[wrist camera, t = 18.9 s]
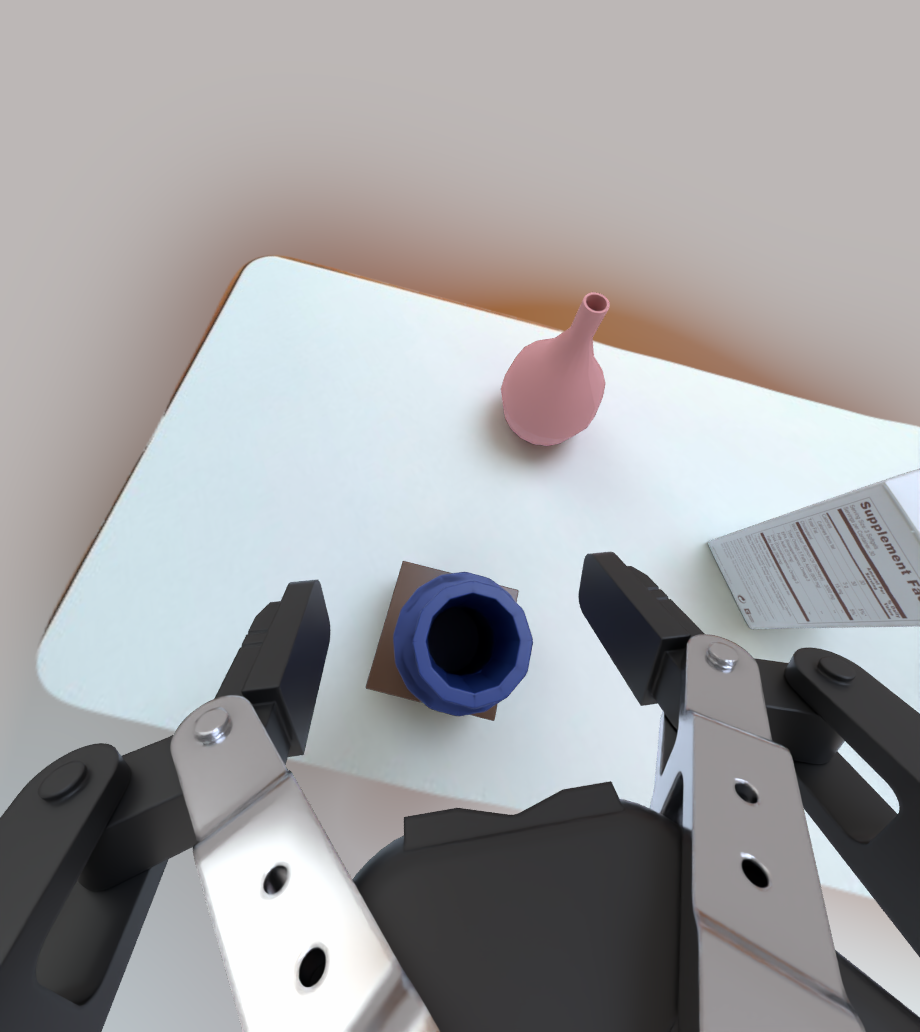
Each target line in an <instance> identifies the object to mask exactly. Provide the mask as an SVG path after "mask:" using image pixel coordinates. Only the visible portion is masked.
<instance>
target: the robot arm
mask: <svg viewBox="0 0 920 1032" xmlns="http://www.w3.org/2000/svg"><path fill="white" fill-rule="evenodd" d="M579 604H580V608H581V610H582V613H583V614H584V616H585V618H586V619H587V621H588V622H589V624H590V626H591V627H592V629H593V630H594V632H595V634H596V635H597V637H598V638H599V640H600V642H601V643H602V645H603V646H604V648H605V649H606V651H607V653H608V654H609V656H610V657H611V659H612V661H613V662H614V664H615V665H616V667H617V669H618V670H619V672H620V673H621V675H622V677H623V678H624V680H625V681H626V683H627V685H628V686H629V688H630V689H631V691H632V692H633V694H634V696H635V697H636V699H637V700H638V702H639V704H640V705H641V706H643V705H650V704H657V703H658V704H659V706H660V707H661V709H662V710H663V712H662V715H661V718H660V728H659V739H658V751H657V763H656V774H655V785H654V791H653V796H652V800H651V804H650V808H647V807H645V806H642V805H640V804H637V803H634V802H630V801H627V800H622V799H619V797H618V795H617V793H616V791H615V789H614V786H613V784H612V782H611V781H610V782H605V783H599V784H593V785H587V786H581V787H576V788H570V789H564V790H561V791H559V792H558V793H556V794H554V795H552V796H550V797H548V798H546V799H545V800H543V801H541V802H539V803H537V804H535V805H533V806H532V807H530V808H528V809H526V810H524V811H522V812H521V813H518V814H515V815H507V814H499V813H492V812H484V811H476V810H469V809H462V808H454V809H448V810H443V811H437V812H431V813H425V814H419V815H413V816H408V817H404V836H402V837H400V838H398V839H396V840H394V841H393V842H391V843H390V844H388V845H387V846H386V847H384V848H383V849H381V850H380V851H379V852H378V853H377V854H376V855H375V856H373V857H372V858H371V859H370V860H369V861H368V862H367V863H366V864H365V865H364V866H363V868H362V869H361V870H360V871H359V872H358V873H357V874H356V876H355V877H354V878H353V880H352V878H351V877H350V875H349V873H348V871H347V870H346V868H345V866H344V864H343V863H342V861H341V859H340V857H339V855H338V853H337V852H336V850H335V848H334V847H333V845H332V843H331V841H330V839H329V838H328V836H327V834H326V832H325V830H324V829H323V827H322V825H321V823H320V821H319V820H318V818H317V816H316V814H315V813H314V811H313V809H312V808H311V806H310V804H309V802H308V800H307V798H306V797H305V795H304V793H303V791H302V789H301V788H300V786H299V784H298V782H297V781H296V779H295V777H294V775H293V774H292V772H291V771H288V769H287V768H286V766H285V765H286V761H287V757H292V756H298V755H304V751H305V746H306V742H307V738H308V733H309V729H310V725H311V720H312V716H313V712H314V707H315V703H316V699H317V694H318V690H319V685H320V681H321V677H322V672H323V668H324V664H325V659H326V655H327V651H328V646H329V642H330V621H329V617H328V613H327V609H326V604H325V600H324V596H323V592H322V588H321V584H320V582H319V581H318V580H310V581H299V582H290V583H289V584H288V586H287V588H286V590H285V593H284V595H283V597H282V600H281V601H279V602H270V603H269V604H268V605H267V606H266V607H265V608H264V609H263V610H262V611H261V612H260V613H259V614H258V615H257V616H256V617H255V619H254V621H253V623H252V625H251V627H250V629H249V631H248V635H246V637H245V639H244V641H243V643H242V648H240V649H239V651H238V653H237V655H236V657H235V659H234V661H233V663H232V665H231V667H230V669H229V671H228V673H227V675H226V677H225V679H224V681H223V683H222V685H221V687H220V689H219V691H218V693H217V695H216V697H215V698H214V700H211V701H209V702H207V703H205V704H203V705H202V706H200V707H199V708H197V709H196V710H195V711H193V712H192V713H191V714H190V715H189V716H188V717H186V718H185V719H184V721H183V722H182V723H181V724H180V725H179V727H178V728H177V730H176V731H175V733H174V735H172V736H170V737H168V738H166V739H163V740H161V741H159V742H156V743H153V744H150V745H148V746H145V747H143V748H141V749H138V750H136V751H133V752H130V753H128V754H125V755H123V756H121V755H120V754H119V753H118V751H117V750H116V748H115V747H113V746H112V745H109V744H102V743H100V744H93V745H89V746H85V747H82V748H79V749H77V750H74V751H72V752H70V753H68V754H66V755H64V756H63V757H61V758H59V759H58V760H56V761H54V762H53V763H51V764H50V765H49V766H47V767H46V768H45V769H43V770H42V771H41V772H40V773H38V774H37V775H36V776H35V777H34V778H33V779H32V780H31V781H30V782H29V783H28V784H27V785H26V786H25V787H24V788H23V789H22V791H21V792H20V793H19V794H18V795H17V797H16V798H15V799H14V801H13V802H12V803H11V805H10V806H9V807H8V809H7V810H6V811H5V813H4V814H3V815H2V816H1V818H0V1032H101V1031H102V1029H103V1026H104V1023H105V1021H106V1018H107V1015H108V1013H109V1011H110V1008H111V1006H112V1002H113V1000H114V998H115V995H116V992H117V990H118V988H119V985H120V982H121V980H122V977H123V975H124V972H125V969H126V967H127V964H128V962H129V959H130V957H131V954H132V951H133V949H134V946H135V944H136V941H137V939H138V936H139V934H140V931H141V928H142V925H143V923H144V921H145V918H146V916H147V913H148V910H149V908H150V905H151V903H152V900H153V897H154V895H155V893H156V890H157V887H158V885H159V882H160V880H161V877H162V875H163V872H164V869H165V867H166V864H167V862H168V859H169V858H171V857H173V856H175V855H177V854H179V853H181V852H183V851H185V850H187V849H189V848H191V847H193V855H194V859H195V864H196V868H197V871H198V875H199V878H200V882H201V885H202V889H203V892H204V896H205V900H206V903H207V907H208V910H209V914H210V917H211V920H212V924H213V928H214V931H215V935H216V939H217V942H218V945H219V949H220V953H221V956H222V960H223V963H224V967H225V970H226V974H227V977H228V981H229V985H230V988H231V992H232V995H233V999H234V1002H235V1006H236V1009H237V1013H238V1016H239V1020H240V1024H241V1027H242V1031H243V1032H920V1017H918V1016H917V1015H916V1014H915V1013H914V1012H912V1011H911V1010H910V1009H908V1008H907V1007H906V1006H905V1005H903V1004H902V1003H901V1002H900V1001H899V1000H897V999H896V998H895V997H894V996H892V995H891V994H890V993H888V992H887V991H886V990H885V989H883V988H882V987H881V986H880V985H878V984H877V983H876V982H875V981H873V980H872V979H871V978H870V977H868V976H867V975H866V974H865V973H864V972H862V971H861V970H860V969H859V968H857V967H856V966H855V965H853V964H852V963H851V962H850V961H848V960H847V959H846V958H845V957H843V956H842V955H841V954H840V953H838V952H837V951H836V950H835V948H834V943H833V939H832V934H831V930H830V925H829V921H828V916H827V912H826V907H825V903H824V898H823V894H822V890H821V885H820V880H819V876H818V871H817V867H816V862H815V858H814V853H813V849H812V844H811V840H810V835H809V831H808V826H807V822H806V817H805V813H804V809H805V810H806V812H807V813H808V814H809V816H810V817H811V818H812V819H813V821H814V822H815V823H816V825H817V826H818V827H819V828H820V830H821V831H822V832H823V834H824V835H825V836H826V837H827V839H828V840H829V841H830V843H831V844H832V845H833V846H834V848H835V849H836V850H837V852H838V853H839V854H840V855H841V857H842V858H843V859H844V861H845V862H846V863H847V864H848V866H849V867H850V868H851V870H852V871H853V872H854V873H855V875H856V876H857V877H858V879H859V880H860V881H861V882H862V884H863V885H864V886H865V888H866V889H867V890H868V891H869V893H870V894H871V895H872V897H873V898H874V899H875V900H876V902H877V903H878V904H879V905H880V907H881V908H882V909H883V911H884V912H885V913H886V914H887V916H888V917H889V918H890V920H891V921H892V922H893V924H894V925H895V926H896V927H897V929H898V930H899V931H900V932H901V934H902V935H903V936H904V938H905V939H906V940H907V941H908V943H909V944H910V945H911V947H912V948H913V949H914V951H915V952H916V953H917V954H918V956H919V957H920V714H919V713H918V712H917V711H916V710H914V709H913V708H912V707H910V706H909V705H908V704H907V703H905V702H904V701H903V700H902V699H900V698H899V697H898V696H897V695H895V694H894V693H893V692H891V691H890V690H889V689H888V688H886V687H885V686H884V685H883V684H881V683H880V682H879V681H878V680H876V679H875V678H874V677H873V676H871V675H870V674H869V673H867V672H866V671H865V670H864V669H862V668H861V667H859V666H858V665H857V664H855V663H853V662H852V661H850V660H848V659H846V658H844V657H842V656H840V655H837V654H835V653H832V652H829V651H826V650H822V649H817V648H801V649H799V650H797V651H796V652H795V653H794V655H793V657H792V658H791V660H790V662H789V663H783V662H776V661H769V660H761V659H754V658H753V657H752V656H751V655H750V654H749V653H748V652H747V651H746V650H744V649H743V648H742V647H740V646H739V645H737V644H735V643H734V642H732V641H729V640H727V639H725V638H722V637H718V636H714V635H706V634H704V633H703V632H702V631H701V630H700V629H699V628H698V627H697V626H696V625H695V624H694V623H693V622H692V620H691V619H690V618H689V617H688V616H687V615H686V614H685V613H684V612H683V611H682V610H681V609H680V608H679V607H678V606H677V605H676V604H675V603H674V602H673V601H672V600H671V599H668V596H667V595H666V594H665V593H664V592H663V591H662V590H661V589H659V587H658V586H657V585H656V584H655V583H654V582H653V581H652V580H651V579H650V578H649V577H648V576H647V575H646V574H644V573H642V572H641V571H639V570H637V569H635V568H634V567H632V566H626V565H625V564H624V563H623V562H622V561H621V559H620V558H619V557H618V556H617V555H616V554H615V553H613V552H603V553H593V554H587V555H586V556H585V559H584V564H583V570H582V576H581V582H580V588H579ZM844 741H846V742H847V743H848V744H849V745H850V746H851V747H852V748H853V749H854V750H855V751H856V752H857V753H858V754H859V755H860V756H861V757H862V758H863V759H864V760H865V761H866V762H867V763H868V764H869V765H870V766H871V767H872V768H873V769H874V770H875V771H876V772H877V773H878V774H879V775H880V776H881V777H882V778H883V779H884V780H885V781H886V782H887V783H888V785H889V786H890V787H891V788H892V790H893V791H894V793H895V795H896V797H897V799H898V802H899V806H900V810H899V813H898V814H897V813H896V812H895V811H894V810H893V809H892V808H891V807H890V806H889V805H888V804H887V803H886V802H885V801H884V799H883V798H882V797H881V796H880V795H879V794H878V793H877V792H876V791H875V790H874V789H873V788H872V787H871V786H870V785H869V784H868V783H867V782H866V781H865V780H864V779H863V778H862V777H861V776H860V775H859V773H858V772H857V771H856V770H855V769H854V768H853V767H852V766H851V765H850V764H849V763H848V762H847V761H846V760H845V759H844V758H843V757H842V756H841V755H840V754H839V753H838V752H837V751H838V749H839V748H840V747H841V745H842V744H843V743H844Z"/></svg>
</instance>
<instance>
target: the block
mask: <svg viewBox="0 0 920 1032" xmlns="http://www.w3.org/2000/svg"><path fill="white" fill-rule="evenodd" d="M444 574H452V573H449V572H445V571H441V570H437V569H433V568H429V567H426V566H422V565H418V564H414V563H410V562H406V561H403V562H402V566H401V569H400V572H399V576H398V579H397V582H396V586H395V589H394V593H393V596H392V599H391V603H390V606H389V610H388V613H387V616H386V620H385V623H384V626H383V630H382V633H381V637H380V640H379V643H378V647H377V650H376V654H375V657H374V660H373V664H372V667H371V671H370V674H369V677H368V681H367V684H366V689H370V690H374V691H378V692H382V693H386V694H390V695H394V696H398V697H402V698H406V699H409V700H413V701H417V702H421V701H420V700H419V699H418V698H417V697H415V696H414V695H413V694H412V693H411V692H410V691H409V690H408V689H407V687H406V685H405V683H404V681H403V679H402V677H401V675H400V673H399V671H398V669H397V667H396V664H395V655H394V643H393V634H394V631H395V627H396V624H397V621H398V617H399V614H400V611H401V609H402V607H403V606H404V605H405V603H406V602H407V601H408V600H409V598H410V597H411V596H412V595H413V593H414V592H415V591H416V589H417V588H419V587H420V586H422V585H424V584H425V583H427V582H429V581H431V580H432V579H434V578H436V577H438V576H441V575H444ZM499 586H500V585H499ZM500 587H502V588H503V589H504V590H506V591H507V592H508V593H510V595H511V596H512V598H513V599H514V601H515V602H517V597H518V590H516V589H512V588H508V587H504V586H500ZM421 703H423V702H421ZM496 709H497V704H496V705H495V706H493V707H492V708H490V709H489V710H487V711H485V712H481V713H475V714H470V715H473V716H476V717H480V718H484V719H488V720H492V721H494V720H495V715H496Z"/></svg>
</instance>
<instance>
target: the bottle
mask: <svg viewBox="0 0 920 1032" xmlns="http://www.w3.org/2000/svg"><path fill="white" fill-rule="evenodd" d="M532 640H533V639H532V635H531V632H530V629H529V626H528V623H527V619H526V616H525V613H524V611H523V609H522V608H521V607H520V606H519V605H518V604H517V603H516V602H515V601H514V599H513V598H512V596H511V595H510V593H508V592H507V591H506V590H504V589H503V588H502V587H500V586H499V585H498V584H496V583H495V582H494V581H493V580H491V579H489V578H486V577H483V576H479V575H475V574H472V573H468V572H466V573H465V572H460V573H452V574H444V575H441V576H438V577H436V578H434V579H432V580H431V581H429V582H427V583H425V584H424V585H422V586H420V587H419V588H417V589H416V591H415V592H414V593H413V595H412V596H411V597H410V598H409V600H408V601H407V602H406V603H405V605H404V606H403V607H402V609H401V611H400V614H399V617H398V621H397V624H396V627H395V631H394V634H393V643H394V655H395V664H396V667H397V669H398V671H399V673H400V675H401V677H402V679H403V681H404V683H405V685H406V687H407V689H408V690H409V691H410V692H411V693H412V694H413V695H414V696H415V697H417V698H418V699H419V700H420V701H421V702H423V703H424V704H425V705H426V706H427V707H429V708H431V709H432V710H436V711H439V712H443V713H447V714H450V715H454V716H464V715H470V714H475V713H481V712H485V711H487V710H489V709H490V708H492V707H493V706H495V705H496V704H498V703H499V702H500V701H502V700H504V699H505V698H507V697H508V696H509V695H510V693H511V692H512V691H513V690H514V689H515V687H516V686H517V685H518V684H519V683H520V681H521V680H522V679H523V678H524V677H525V676H526V673H527V672H528V666H529V661H530V656H531V650H532V645H533V641H532Z"/></svg>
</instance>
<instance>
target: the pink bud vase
mask: <svg viewBox="0 0 920 1032" xmlns="http://www.w3.org/2000/svg"><path fill="white" fill-rule="evenodd" d="M609 306H610V304H609V301H608V299H607V298H606V297H605V296H603V295H602V294H600V293H595V292H593V293H589V294H586V296H585V297H584V298H583V301H582V303H581V305H580V307H579V310H578V312H577V314H576V316H575V319H574V321H573V323H572V325H571V327H570V328H569V329H568V330H566V331H565V332H563V333H562V334H560V335H559V336H557V337H556V338H552V339H545V340H539V341H535V342H534V343H532V344H530V345H528V346H526V347H524V348H523V349H522V351H521V352H520V353H519V354H518V355H517V357H516V358H515V359H514V361H513V363H512V364H511V366H510V368H509V369H508V371H507V373H506V374H505V377H504V380H503V384H502V387H501V393H502V401H503V408H504V415H505V419H506V421H507V423H508V425H509V426H510V428H511V430H512V431H514V432H515V433H516V434H517V435H518V436H519V437H520V438H521V439H523V440H526V441H528V442H530V443H532V444H536V445H544V446H549V445H554V444H560V443H562V442H563V441H565V440H567V439H569V438H571V437H573V436H574V435H576V434H578V433H579V432H581V431H583V430H584V429H586V428H587V427H588V425H589V424H590V422H591V421H592V420H593V418H594V417H595V415H596V412H597V410H598V407H599V405H600V403H601V400H602V398H603V394H604V388H605V380H604V375H603V371H602V369H601V367H600V365H599V364H598V362H597V361H596V359H595V358H594V353H593V340H592V337H593V336H594V334H595V332H596V330H597V329H598V327H599V325H600V323H601V321H602V320H603V318H604V316H605V314H606V313H607V311H608V309H609Z"/></svg>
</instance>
